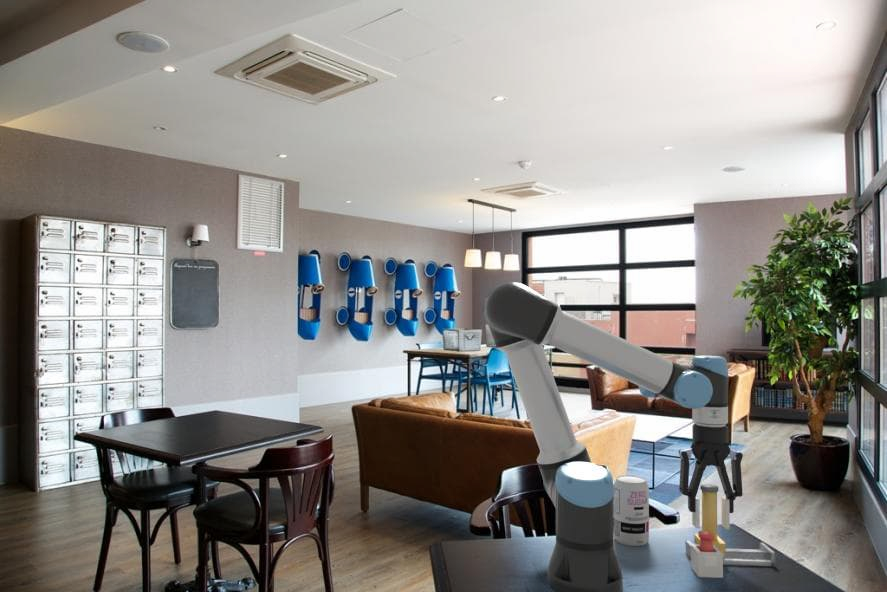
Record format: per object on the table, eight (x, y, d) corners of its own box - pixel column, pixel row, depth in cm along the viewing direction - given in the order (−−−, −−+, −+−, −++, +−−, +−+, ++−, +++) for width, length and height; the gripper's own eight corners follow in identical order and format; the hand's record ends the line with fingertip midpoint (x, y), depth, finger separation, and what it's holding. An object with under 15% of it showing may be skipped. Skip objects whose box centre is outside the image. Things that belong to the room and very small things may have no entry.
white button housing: (698, 577, 131) (698, 553, 132) (690, 567, 137) (690, 544, 137) (723, 578, 131) (723, 554, 131) (714, 568, 136) (714, 544, 136)
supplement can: (626, 532, 158) (626, 472, 158) (655, 542, 152) (655, 479, 152) (606, 539, 153) (606, 478, 153) (635, 549, 147) (635, 485, 147)
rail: (694, 563, 139) (693, 550, 139) (685, 553, 145) (685, 540, 145) (775, 566, 137) (775, 552, 137) (763, 555, 143) (763, 542, 143)
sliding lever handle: (702, 557, 139) (702, 489, 139) (694, 547, 144) (694, 482, 145) (725, 558, 138) (725, 489, 139) (716, 548, 144) (716, 483, 144)
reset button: (701, 558, 133) (701, 535, 133) (696, 552, 136) (696, 530, 136) (716, 559, 132) (716, 536, 132) (711, 553, 136) (711, 531, 136)
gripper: (672, 426, 139) (673, 531, 138) (760, 427, 137) (760, 533, 137) (663, 420, 146) (663, 519, 146) (746, 421, 145) (746, 522, 144)
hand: (710, 526), depth 141 cm, fingers open, 6 cm apart
